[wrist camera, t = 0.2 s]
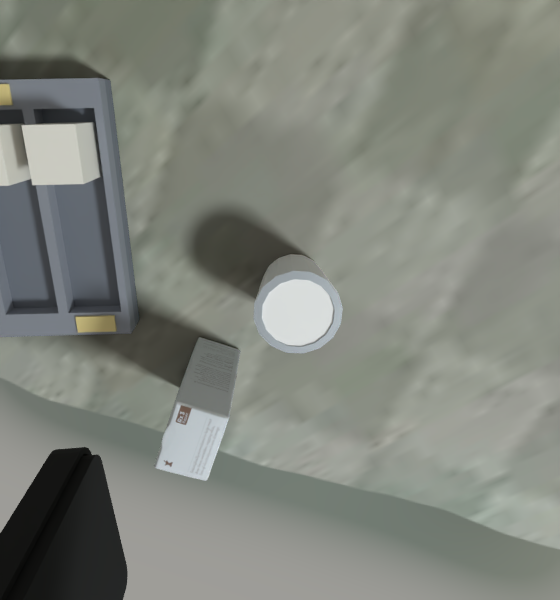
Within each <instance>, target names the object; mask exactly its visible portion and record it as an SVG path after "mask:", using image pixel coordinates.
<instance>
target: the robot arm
mask: <svg viewBox="0 0 560 600" xmlns="http://www.w3.org/2000/svg"><path fill="white" fill-rule="evenodd" d="M126 585H127V565H126V561H125V557H124V552H123V549H122V544H121V540H120V536H119V531H118V527H117V523H116V519H115V514H114V510H113V506H112V503H111V498H110V493H109V489H108V485H107V481H106V477H105V472H104V468H103V464H102V460H101V458H100V456H99V455H92V454H91V452H90V450H89V449H88V448H86V447H82V448H71V449H58V450H54V451H52V452H51V454H50V455H49V457H48V458H47V460H46V461H45V463H44V464H43V466H42V468H41V469H40V471H39V473H38V474H37V476H36V477H35V479H34V481H33V482H32V484H31V485H30V487H29V489H28V490H27V492H26V494H25V495H24V497H23V498H22V500H21V501H20V503H19V505H18V506H17V508H16V510H15V511H14V513H13V514H12V516H11V517H10V519H9V521H8V522H7V524H6V526H5V527H4V529H3V530H2V532H1V533H0V600H123V597H124V593H125V590H126Z"/></svg>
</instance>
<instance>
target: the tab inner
mask: <svg viewBox="0 0 560 600" xmlns="http://www.w3.org/2000/svg"><path fill="white" fill-rule="evenodd" d="M21 126H22V131H23V137H24V142H25V148H26V153H27V159H28V164H29V170H30V175H31V181H32V185H65V184H85V183H88V182H90V181H92V180H95V179H97V178H99V177H102V176H103V174H102V167H101V159H100V152H99V144H98V137H97V129H96V122H74V123H41V124H29V125H21Z"/></svg>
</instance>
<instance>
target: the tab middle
mask: <svg viewBox="0 0 560 600" xmlns="http://www.w3.org/2000/svg"><path fill="white" fill-rule="evenodd" d="M21 125H25V123H21V124H0V186H10V185H13V184H16V183H19V182H23V181H26V180H29V179H31V175H30V170H29V164H28V159H27V153H26V148H25V142H24V137H23V131H22V126H21Z"/></svg>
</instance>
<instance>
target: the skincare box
mask: <svg viewBox="0 0 560 600" xmlns="http://www.w3.org/2000/svg"><path fill="white" fill-rule="evenodd" d="M239 357H240V350H238V349H236V348H233V347H230V346H227V345H224V344H220V343H217V342H214V341H211V340H208V339H204V338H201V337H199V338H198V340H197V342H196V345H195V347H194V350H193V353H192V355H191V358H190V361H189V364H188V366H187V369H186V372H185V375H184V377H183V380H182V383H181V386H180V388H179V391H178V394H177V397H176V400H175V403H174V406H173V409H172V412H171V415H170V418H169V421H168V424H167V427H166V430H165V432H164V436H163V439H162V443H161V446H160V449H159V452H158V455H157V458H156V462H155V465H154V466H155V468H157V469H161V470H164V471H168V472H172V473H176V474H180V475H184V476H187V477H191V478H195V479H201V480H207V479H208V477H209V474H210V471H211V468H212V465H213V462H214V460H215V457H216V454H217V451H218V448H219V446H220V443H221V440H222V437H223V434H224V432H225V429H226V426H227V423H228V420H229V417H230V410H231V405H232V400H233V394H234V388H235V382H236V376H237V370H238V363H239Z"/></svg>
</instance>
